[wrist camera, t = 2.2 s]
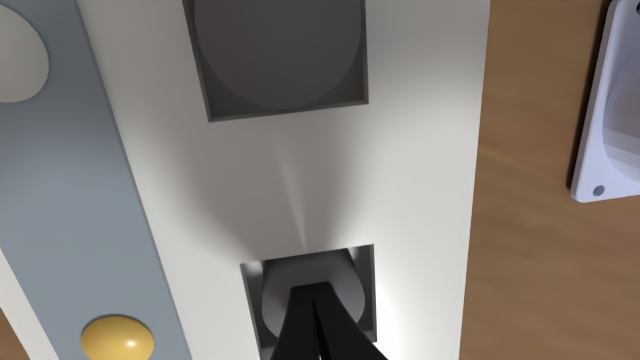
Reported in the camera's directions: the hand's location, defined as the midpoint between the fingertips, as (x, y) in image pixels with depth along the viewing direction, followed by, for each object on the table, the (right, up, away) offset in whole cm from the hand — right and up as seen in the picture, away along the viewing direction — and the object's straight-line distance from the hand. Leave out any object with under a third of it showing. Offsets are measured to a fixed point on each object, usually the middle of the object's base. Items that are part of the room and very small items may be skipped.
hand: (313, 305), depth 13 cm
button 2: (0, +1, +2) cm, 2 cm away
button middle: (-1, +9, -3) cm, 9 cm away
